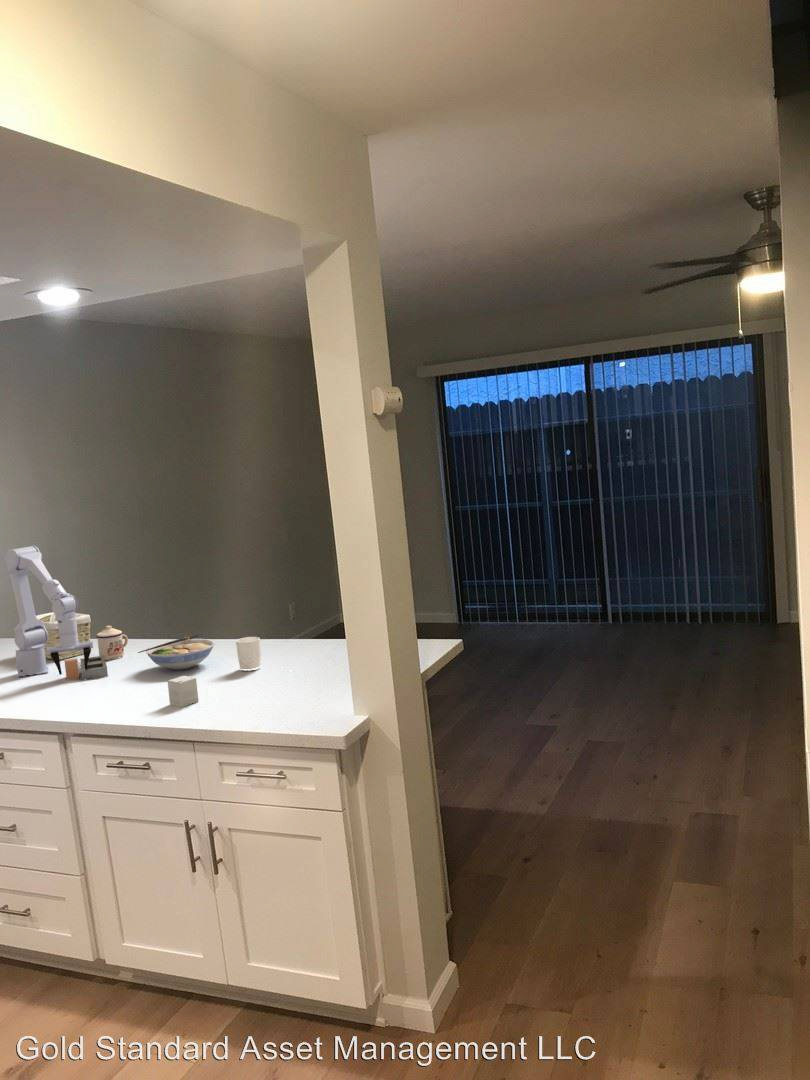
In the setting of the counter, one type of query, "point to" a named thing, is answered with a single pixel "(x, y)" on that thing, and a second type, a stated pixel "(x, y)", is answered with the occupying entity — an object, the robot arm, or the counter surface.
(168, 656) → the ramen bowl
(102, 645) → the teacup with lid
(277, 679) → the counter surface
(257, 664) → the white cup
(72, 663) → the orange brown block
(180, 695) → the skincare box
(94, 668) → the grey slotted board
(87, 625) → the storage basket
